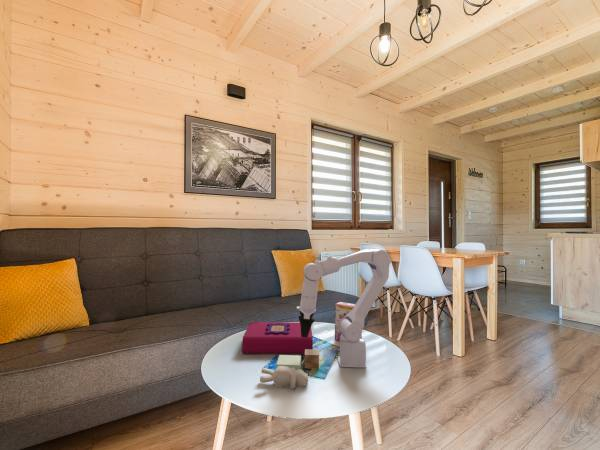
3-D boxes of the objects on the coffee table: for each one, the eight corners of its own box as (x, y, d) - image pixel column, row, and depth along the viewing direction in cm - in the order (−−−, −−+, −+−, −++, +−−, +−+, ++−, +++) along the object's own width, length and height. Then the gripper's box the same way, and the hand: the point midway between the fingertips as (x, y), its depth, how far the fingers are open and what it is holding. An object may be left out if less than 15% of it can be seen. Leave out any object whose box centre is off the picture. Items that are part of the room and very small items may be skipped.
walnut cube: (318, 363, 115) (318, 349, 115) (318, 369, 110) (318, 355, 110) (305, 362, 116) (305, 349, 116) (304, 368, 111) (304, 354, 111)
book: (312, 356, 122) (313, 336, 122) (241, 355, 122) (241, 336, 122) (310, 337, 143) (310, 320, 143) (249, 337, 143) (250, 320, 143)
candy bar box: (334, 340, 138) (334, 303, 138) (338, 337, 143) (339, 301, 143) (357, 345, 132) (358, 307, 132) (362, 342, 136) (362, 304, 137)
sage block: (301, 365, 114) (301, 355, 114) (299, 375, 106) (299, 365, 106) (279, 364, 115) (279, 354, 115) (276, 374, 107) (276, 364, 107)
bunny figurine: (309, 378, 95) (260, 373, 94) (307, 395, 95) (258, 390, 94) (307, 365, 105) (262, 360, 104) (305, 380, 104) (260, 375, 104)
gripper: (299, 291, 121) (294, 326, 121) (297, 299, 106) (292, 338, 106) (317, 293, 121) (312, 328, 120) (317, 301, 106) (312, 341, 106)
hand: (304, 333), depth 113 cm, fingers open, 7 cm apart
